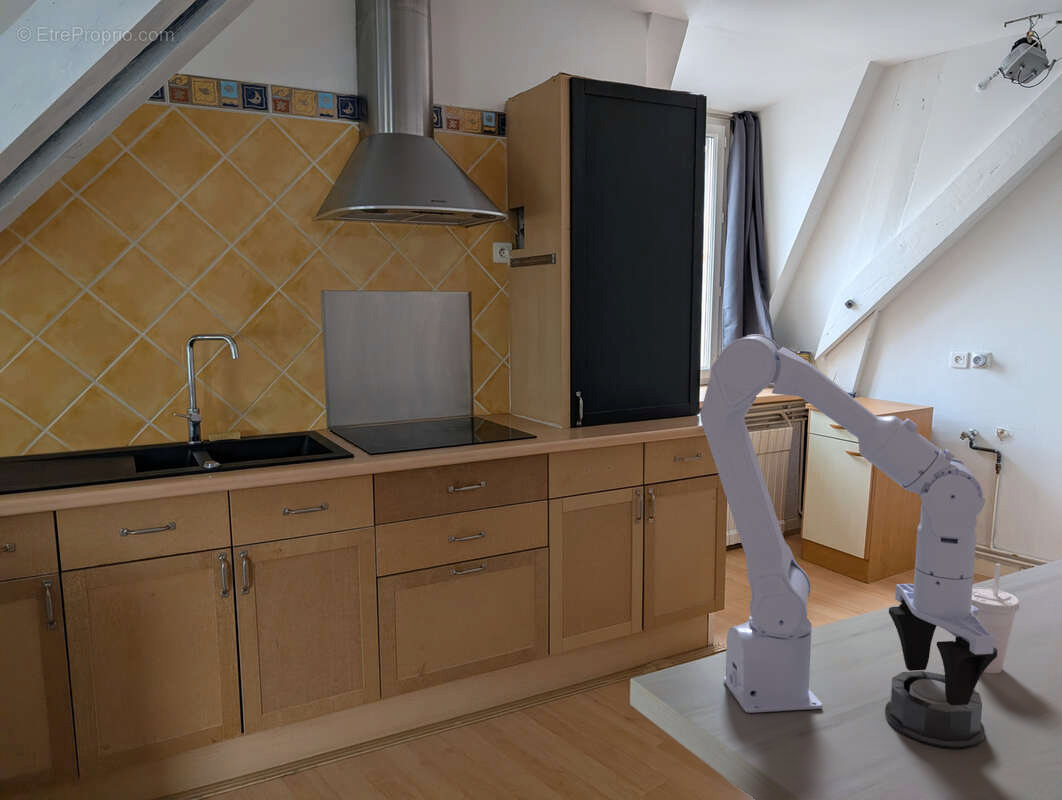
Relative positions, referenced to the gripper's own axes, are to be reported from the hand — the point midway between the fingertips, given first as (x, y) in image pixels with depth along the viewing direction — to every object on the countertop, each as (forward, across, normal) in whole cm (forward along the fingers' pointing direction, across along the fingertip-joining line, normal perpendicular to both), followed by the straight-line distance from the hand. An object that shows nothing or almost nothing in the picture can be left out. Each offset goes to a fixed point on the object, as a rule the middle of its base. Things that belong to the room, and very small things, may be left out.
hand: (935, 685), depth 86 cm
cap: (+4, 0, 0) cm, 4 cm away
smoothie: (+5, +12, -15) cm, 20 cm away
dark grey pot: (+5, 0, 0) cm, 5 cm away
